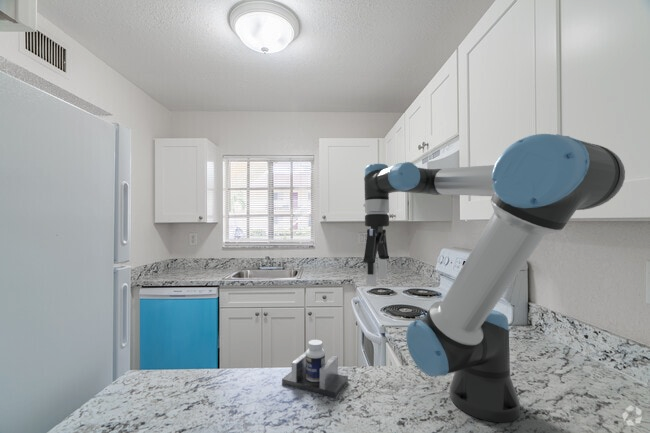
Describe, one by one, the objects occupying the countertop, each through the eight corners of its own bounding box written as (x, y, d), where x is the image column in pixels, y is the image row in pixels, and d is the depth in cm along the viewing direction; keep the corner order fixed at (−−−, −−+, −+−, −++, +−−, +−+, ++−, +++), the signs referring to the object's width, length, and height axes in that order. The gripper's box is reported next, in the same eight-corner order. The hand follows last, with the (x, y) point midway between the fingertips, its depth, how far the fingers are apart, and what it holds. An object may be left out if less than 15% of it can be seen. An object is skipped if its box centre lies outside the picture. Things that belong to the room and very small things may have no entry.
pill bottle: (302, 380, 79) (302, 344, 80) (310, 371, 84) (310, 337, 85) (320, 384, 78) (320, 346, 78) (327, 375, 83) (327, 340, 83)
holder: (347, 381, 82) (347, 358, 82) (335, 398, 74) (335, 372, 74) (298, 370, 88) (298, 348, 89) (282, 384, 80) (282, 360, 81)
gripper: (375, 216, 104) (375, 275, 103) (352, 211, 82) (352, 287, 81) (396, 215, 101) (397, 277, 100) (378, 210, 79) (379, 290, 77)
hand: (377, 282), depth 90 cm, fingers open, 13 cm apart
